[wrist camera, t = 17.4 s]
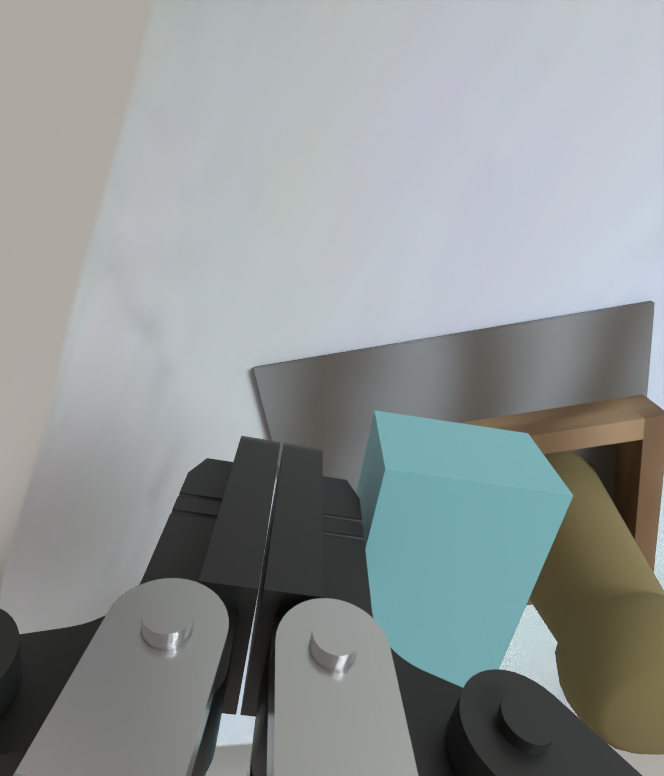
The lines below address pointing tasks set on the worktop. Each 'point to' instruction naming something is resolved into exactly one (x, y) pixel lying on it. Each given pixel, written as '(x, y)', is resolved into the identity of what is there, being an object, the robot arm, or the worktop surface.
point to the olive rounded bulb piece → (604, 616)
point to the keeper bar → (454, 537)
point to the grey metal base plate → (495, 398)
